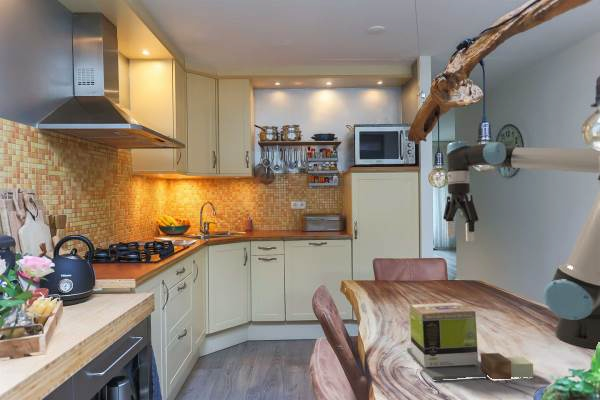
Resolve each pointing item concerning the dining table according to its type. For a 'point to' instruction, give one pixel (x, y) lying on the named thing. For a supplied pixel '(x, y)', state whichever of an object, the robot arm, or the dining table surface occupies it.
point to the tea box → (443, 334)
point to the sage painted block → (520, 367)
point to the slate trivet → (450, 370)
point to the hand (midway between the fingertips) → (460, 239)
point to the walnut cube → (496, 366)
